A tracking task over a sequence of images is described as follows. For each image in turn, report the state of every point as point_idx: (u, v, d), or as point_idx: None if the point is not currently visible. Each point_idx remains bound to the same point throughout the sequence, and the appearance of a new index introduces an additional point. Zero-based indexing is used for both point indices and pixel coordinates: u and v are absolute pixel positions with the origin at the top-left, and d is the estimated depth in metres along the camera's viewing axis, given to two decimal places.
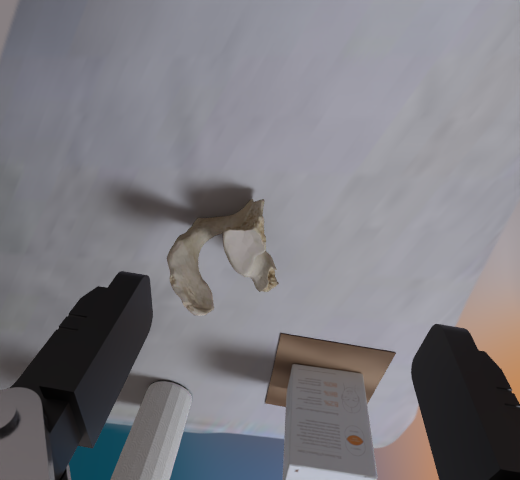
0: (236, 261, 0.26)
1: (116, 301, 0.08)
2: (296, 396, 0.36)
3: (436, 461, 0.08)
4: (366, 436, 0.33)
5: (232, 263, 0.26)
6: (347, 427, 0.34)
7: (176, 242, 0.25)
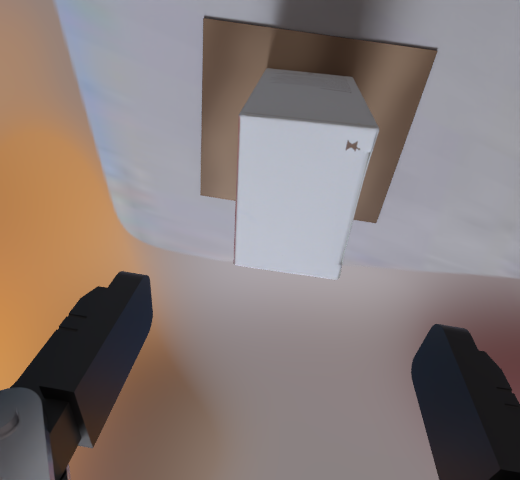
0: None
1: (116, 301, 0.08)
2: None
3: (437, 462, 0.08)
4: None
5: None
6: None
7: None
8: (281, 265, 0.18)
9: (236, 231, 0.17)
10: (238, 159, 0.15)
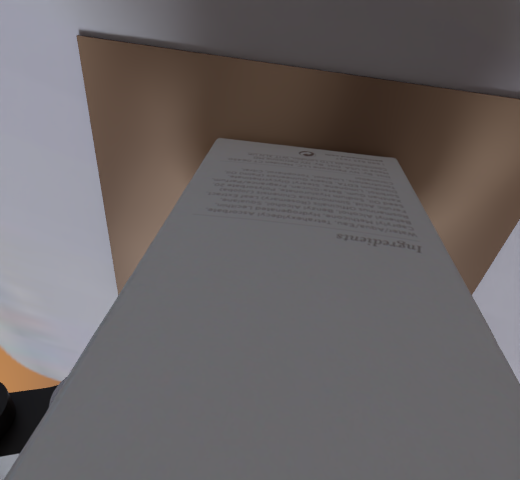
0: None
1: None
2: None
3: None
4: None
5: None
6: None
7: None
8: None
9: None
10: None
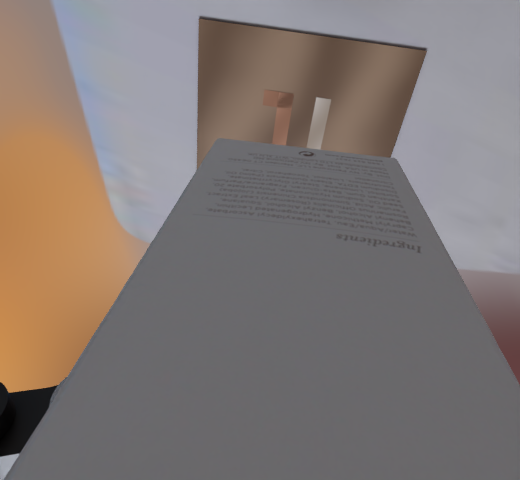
0: None
1: None
2: None
3: None
4: None
5: None
6: None
7: None
8: None
9: None
10: None
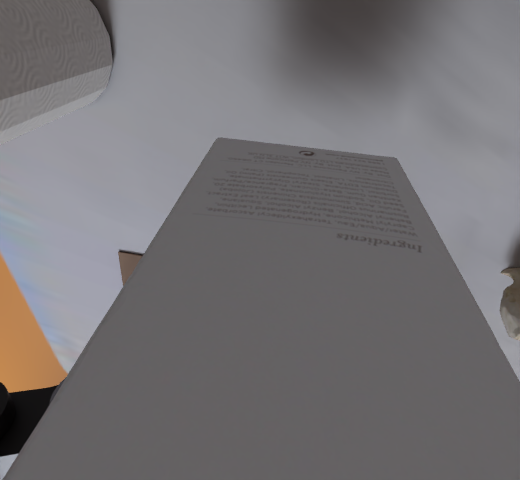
0: None
1: None
2: None
3: None
4: None
5: None
6: None
7: None
8: None
9: None
10: None
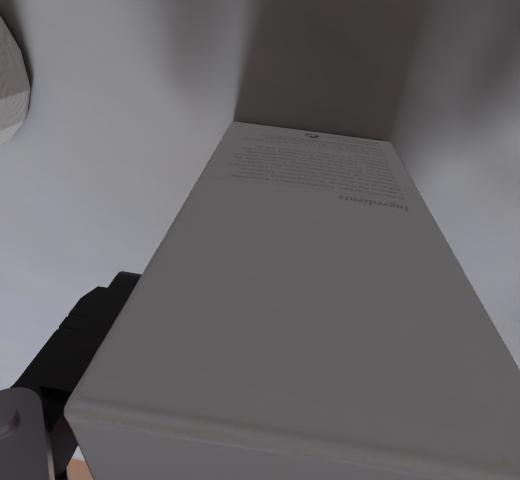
0: None
1: (116, 301, 0.08)
2: None
3: None
4: None
5: None
6: None
7: None
8: None
9: None
10: None
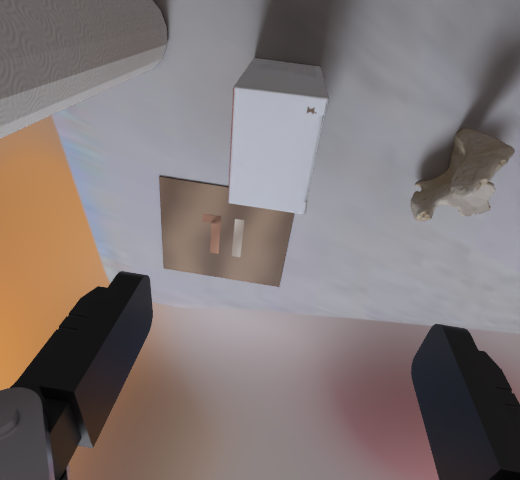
0: None
1: (116, 301, 0.08)
2: None
3: (436, 461, 0.08)
4: None
5: None
6: None
7: None
8: (263, 202, 0.24)
9: (230, 175, 0.23)
10: (232, 119, 0.21)
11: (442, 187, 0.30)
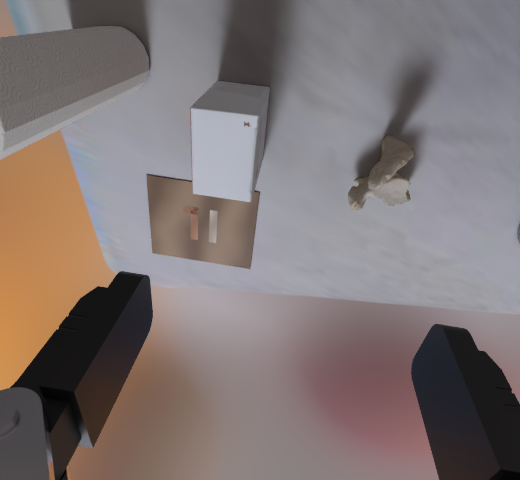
0: (382, 187, 0.36)
1: (116, 301, 0.08)
2: (266, 101, 0.33)
3: (436, 461, 0.08)
4: (256, 181, 0.34)
5: None
6: (258, 162, 0.34)
7: (413, 151, 0.33)
8: (218, 193, 0.31)
9: (192, 172, 0.31)
10: (191, 131, 0.29)
11: None
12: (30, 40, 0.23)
